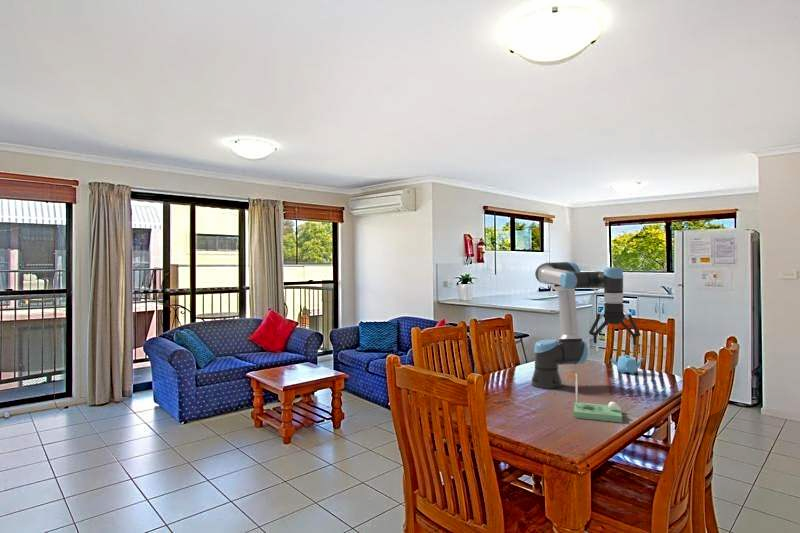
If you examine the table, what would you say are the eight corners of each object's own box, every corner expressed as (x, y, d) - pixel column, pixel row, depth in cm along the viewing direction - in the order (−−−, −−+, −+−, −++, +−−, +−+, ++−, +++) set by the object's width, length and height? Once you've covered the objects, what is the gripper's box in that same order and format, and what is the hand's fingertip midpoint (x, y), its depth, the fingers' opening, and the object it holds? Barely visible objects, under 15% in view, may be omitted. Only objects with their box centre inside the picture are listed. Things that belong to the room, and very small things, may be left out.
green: (567, 416, 192) (566, 377, 192) (568, 407, 205) (568, 369, 205) (622, 422, 185) (621, 381, 185) (620, 412, 198) (619, 373, 197)
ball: (608, 411, 191) (608, 402, 191) (608, 408, 195) (607, 400, 195) (617, 412, 190) (617, 403, 190) (617, 409, 193) (617, 400, 193)
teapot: (610, 373, 265) (609, 356, 265) (610, 368, 278) (610, 351, 278) (645, 376, 257) (645, 358, 257) (644, 371, 270) (644, 354, 270)
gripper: (583, 303, 202) (584, 351, 202) (647, 303, 194) (648, 354, 194) (582, 301, 209) (583, 348, 209) (644, 302, 201) (645, 351, 201)
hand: (614, 351), depth 201 cm, fingers open, 13 cm apart
